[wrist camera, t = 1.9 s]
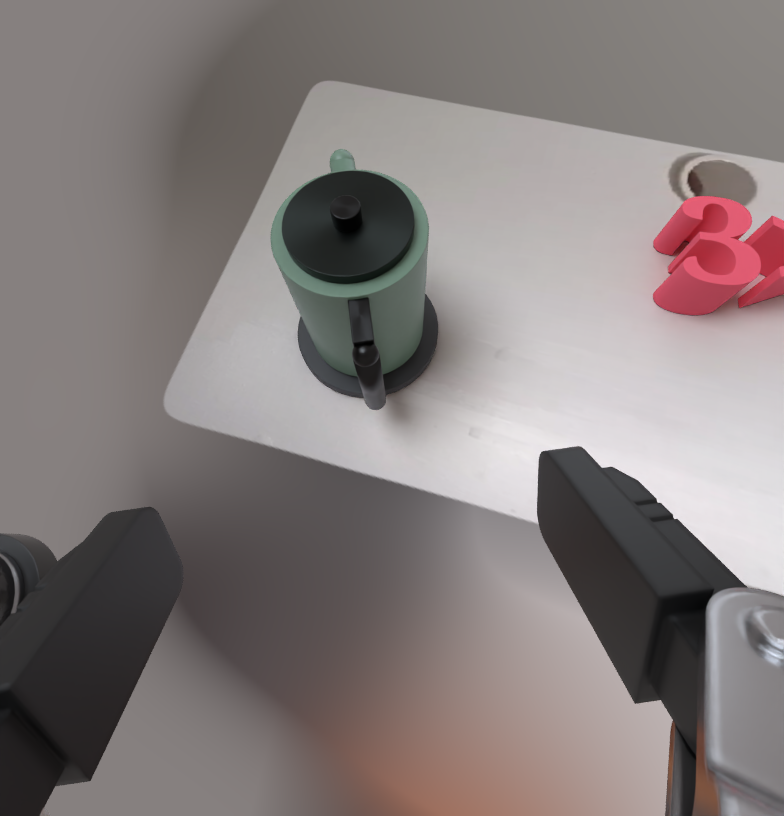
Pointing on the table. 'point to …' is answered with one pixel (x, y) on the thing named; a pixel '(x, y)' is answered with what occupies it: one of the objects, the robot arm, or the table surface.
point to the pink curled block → (718, 257)
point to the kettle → (356, 269)
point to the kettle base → (391, 380)
